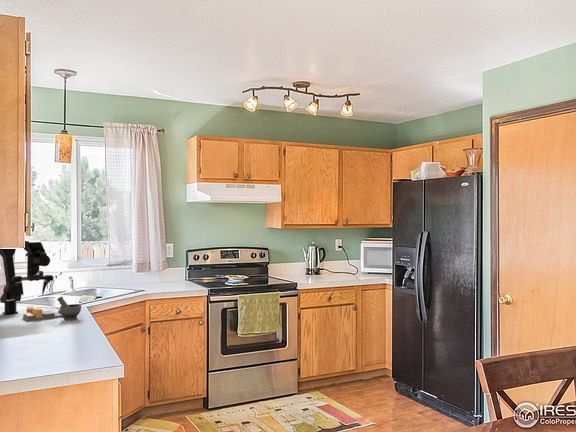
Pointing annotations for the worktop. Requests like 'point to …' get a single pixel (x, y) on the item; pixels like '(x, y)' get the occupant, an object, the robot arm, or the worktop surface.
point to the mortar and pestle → (69, 310)
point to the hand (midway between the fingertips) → (32, 295)
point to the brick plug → (29, 309)
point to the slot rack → (45, 315)
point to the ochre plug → (37, 312)
